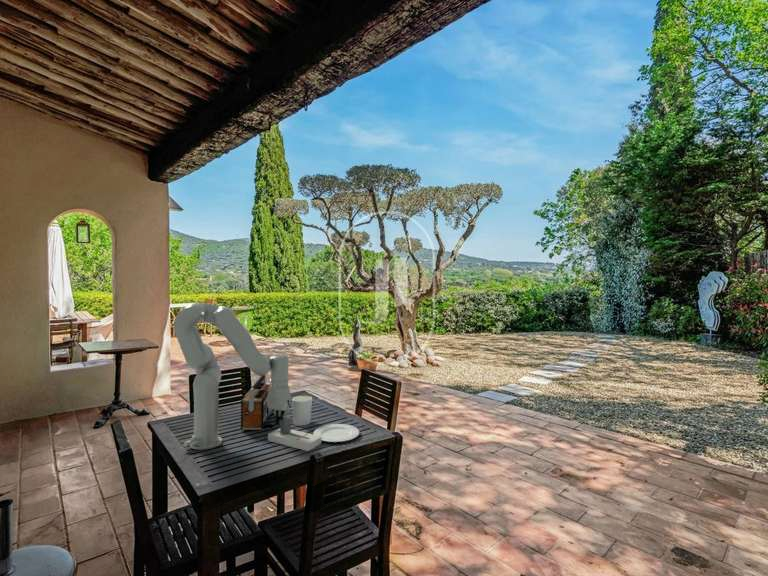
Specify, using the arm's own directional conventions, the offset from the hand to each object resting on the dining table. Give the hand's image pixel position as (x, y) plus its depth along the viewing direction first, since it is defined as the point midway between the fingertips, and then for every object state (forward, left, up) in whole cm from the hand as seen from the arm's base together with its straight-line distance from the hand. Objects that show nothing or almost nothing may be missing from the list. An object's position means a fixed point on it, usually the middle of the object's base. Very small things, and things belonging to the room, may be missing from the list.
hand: (279, 424), depth 179 cm
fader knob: (0, -4, -3) cm, 5 cm away
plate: (+15, -21, -7) cm, 26 cm away
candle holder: (+20, +3, -7) cm, 21 cm away
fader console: (0, -9, -6) cm, 11 cm away
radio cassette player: (+11, +23, -7) cm, 27 cm away
